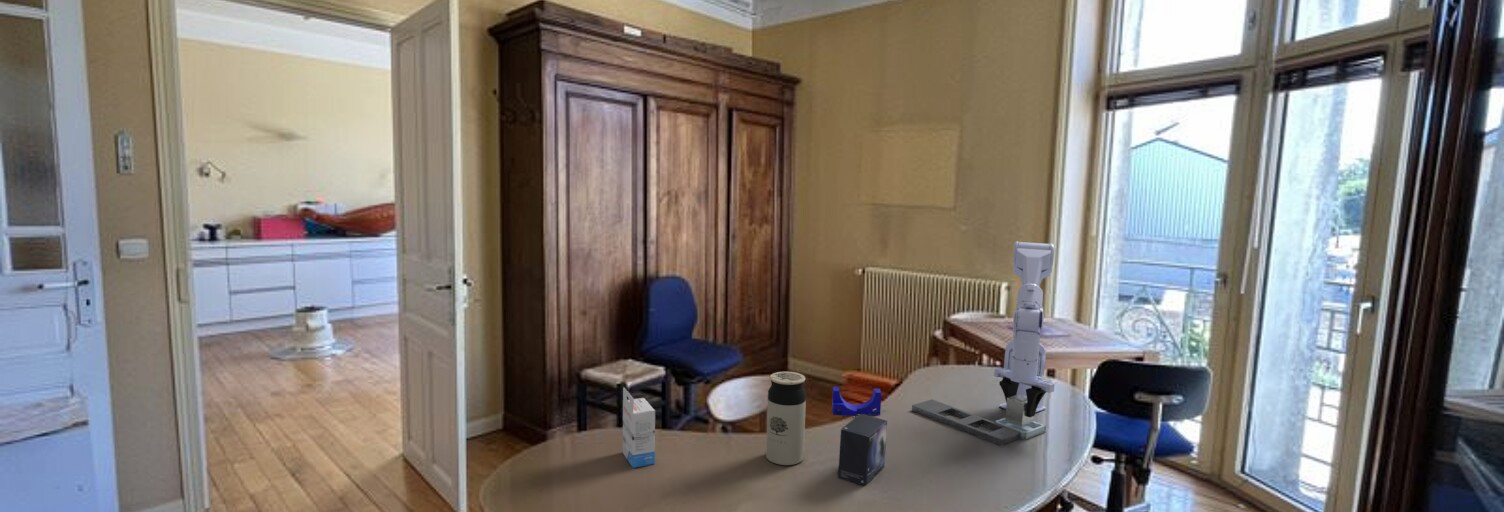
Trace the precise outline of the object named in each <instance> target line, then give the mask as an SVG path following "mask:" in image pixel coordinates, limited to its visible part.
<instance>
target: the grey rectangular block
mask: <svg viewBox="0 0 1504 512" xmlns="http://www.w3.org/2000/svg"><path fill="white" fill-rule="evenodd" d="M1034 416H1035V415H1034ZM1034 416H1033V417H1027V397H1025V396H1022V395H1019V394H1018V395H1014V396H1011V397H1007V405H1006V409H1005V417H1004V418H1005V422H1008V423H1011V424H1013V425H1016V426H1018V427H1021V428H1022V427H1025V426H1028V425H1031V424H1033V421H1034Z"/></svg>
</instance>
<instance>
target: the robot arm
mask: <svg viewBox="0 0 1504 512" xmlns="http://www.w3.org/2000/svg"><path fill="white" fill-rule="evenodd" d="M1054 257H1055V245H1054V244H1053V243H1051V242H1050V243H1043V242H1042V243H1040V242H1039V243H1038V242H1024V241H1018V240H1017V241H1015V242H1014V243H1013V252H1012V270H1013V274H1014V275H1017V276H1018V277H1019V278H1020V281H1021V286H1020V287H1019V288H1018V289H1017V297H1016V308H1015V309H1014V311H1013V318H1012V319H1013V321H1012V329H1013V330H1012V331H1013V334H1012V335H1013V337H1012V338H1013V339H1012V340H1010V341H1009V342H1007V344H1006V348H1005V352H1004V363H1003V368H1002V367H997V368H994V371H993V372H994V373H993V374H994V375H993V376H994V377H995V378H1002V379H1001V380H999V386H1000V388H1001V390H1002V392H1003V395H1004V399H1005V402H1004V403H1001V404H999V405H998V407H999V408H1003V409H1005V410H1006V405H1007V397H1011V396H1014V395H1018V394H1019V395H1022V396H1025V397H1027V417H1033V416H1035V414H1036V413H1038V412H1040V411H1044V410H1046V409H1047V407H1046V406H1044V398H1045V397H1044V396H1045V395H1046V394H1047V393H1049V394H1051V393H1054V392H1055V385H1056V384H1055V383H1054V382H1050V381H1049V380H1046V379H1044V378H1043V377H1044V376H1045V369H1046V351H1047V350H1046V348H1045V346H1044V345H1043V344H1042V343H1041V342H1040V341H1041V334H1042V333H1043V329H1044V319H1045V318H1044V317H1045V313H1044V307H1043V302H1044V301H1043V300H1044V299H1043V298H1044V291H1043V289H1042V288H1041V287H1040V285H1041V283H1042V281H1043V279H1047V278H1048V277H1050V276H1051V273H1052V270H1053V269H1052V268H1053V266H1054ZM1039 329H1040V331H1039Z"/></svg>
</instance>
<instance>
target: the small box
mask: <svg viewBox="0 0 1504 512" xmlns="http://www.w3.org/2000/svg"><path fill="white" fill-rule="evenodd" d="M887 431H888V420H887V419H881V418H878V417H874V416H872V415H869V414H858V415H857V416H855V418H853V419H852V420H850V422H848V423H847V424H845V425H844V426H842V427H841V429H840V435H839V437H840V439H839V440H840V441H839V442H840V443H839V456H838V472H837V478H838V479H842V480H845V481H848V482H852V483H856V484H858V485H862V486H866V485H868V484H869V483H870V482H871V481H872V479H874V478H875V477H876V475H878V474H879V473H880V472H881V471H882V470H883V469H884V468H885V464H886V448H887V447H886V446H887V445H886V444H887Z"/></svg>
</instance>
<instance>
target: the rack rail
mask: <svg viewBox="0 0 1504 512" xmlns="http://www.w3.org/2000/svg"><path fill="white" fill-rule="evenodd" d="M911 411H913V412H914V413H915V412H916V413H917V414H920V415H923V416H925V417H928V418H930V419H933V420H936V421H938V422H941V423H943V424H946V425H948V426H950V427H953V428H956V429H958V430H961V431H963V432H965V433H969V434H971V435H973V436H975V437H979V438H981V439H983V440H987V441H989V442H992V443H994V444H996V445H999V446H1004V445H1007V444H1009V443H1011V442H1013V441H1016V440H1019V439H1022V438H1021V432H1019V431H1016V430H1013V429H1011V428H1008V427H1005V426H1002V425H1000V424H997V423H994V421H993V420H990V419H987V418H984V417H982V416H978V415H976V414H974V413H971V412H968V411H965V410H962V409H960V408H957V407H954V406H951V405H949V404H945V403H943V402H941V401H937V400H935V399H929V400H925V401H922V402H918V403H914V404H912V405H911ZM951 414H952V415H955V416H958V417H960V419H957V420H956V419H954V418H951V417H950V416H949V417H948V416H947V415H951ZM979 426H983V427H986V428H989V429H991V430H992V431H990V432H988V431H986V430H982V429H980V428H977V427H979Z"/></svg>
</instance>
